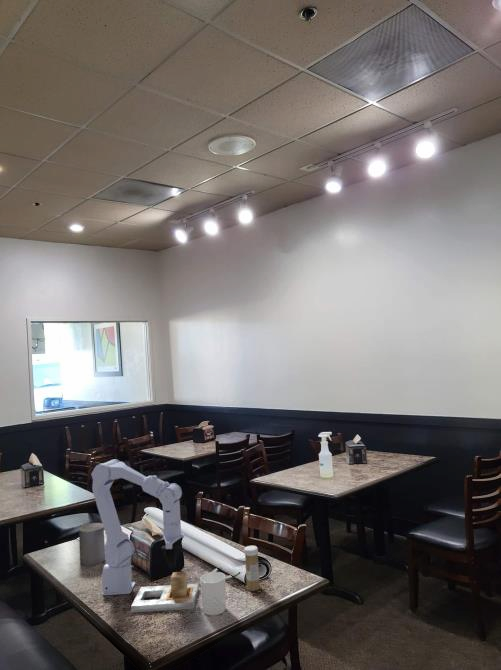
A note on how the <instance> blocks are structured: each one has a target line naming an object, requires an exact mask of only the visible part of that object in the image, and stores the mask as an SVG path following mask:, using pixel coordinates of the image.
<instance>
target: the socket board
mask: <svg viewBox="0 0 501 670" xmlns="http://www.w3.org/2000/svg"><path fill="white" fill-rule="evenodd" d="M187 594H188V597H180V598H172V595H171V584H169V585H167V584H166V585H152V586H150V585H148V586H141V587H139V590H138V592H137V594H136V595H135V598H134V600H133V602H132V603H131V605H130V606H131V608H130V611H131V612H130V613H133V614H134V613H146V612H149V613H150V612H161V611H162V612H166V611H179V610H180V611H182V610H194V609H195V605H196V601H197V597H198V594H199V583H187ZM154 597H155V598H156V597H160V598H159V599H148V600H147V599H145V598H154Z"/></svg>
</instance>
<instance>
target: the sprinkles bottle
mask: <svg viewBox="0 0 501 670" xmlns="http://www.w3.org/2000/svg"><path fill="white" fill-rule="evenodd" d="M243 551H244V552H243V553H244V557H245V559H244V560H245V578H246V579H245V580H246V590H247V591H250V592H254V591H257V590H259V589H260V588H261V585H260V570H259V568H260V567H259V557H258V555H259V554H258V553H259V549H258V547H257V546H256V545H247V546H246V547H244V549H243Z"/></svg>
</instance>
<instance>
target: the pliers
mask: <svg viewBox="0 0 501 670" xmlns="http://www.w3.org/2000/svg"><path fill="white" fill-rule="evenodd" d="M217 568H218V567H217ZM217 568H214V569H213V570H212V571H211V572H219V570H218V569H217ZM231 575H232V574H229V575H225V581H227V580H228V579H229V580H230V579H232V578H233V577H232V576H231ZM199 586H200V587H201V583H200V581H198V587H199Z"/></svg>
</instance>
